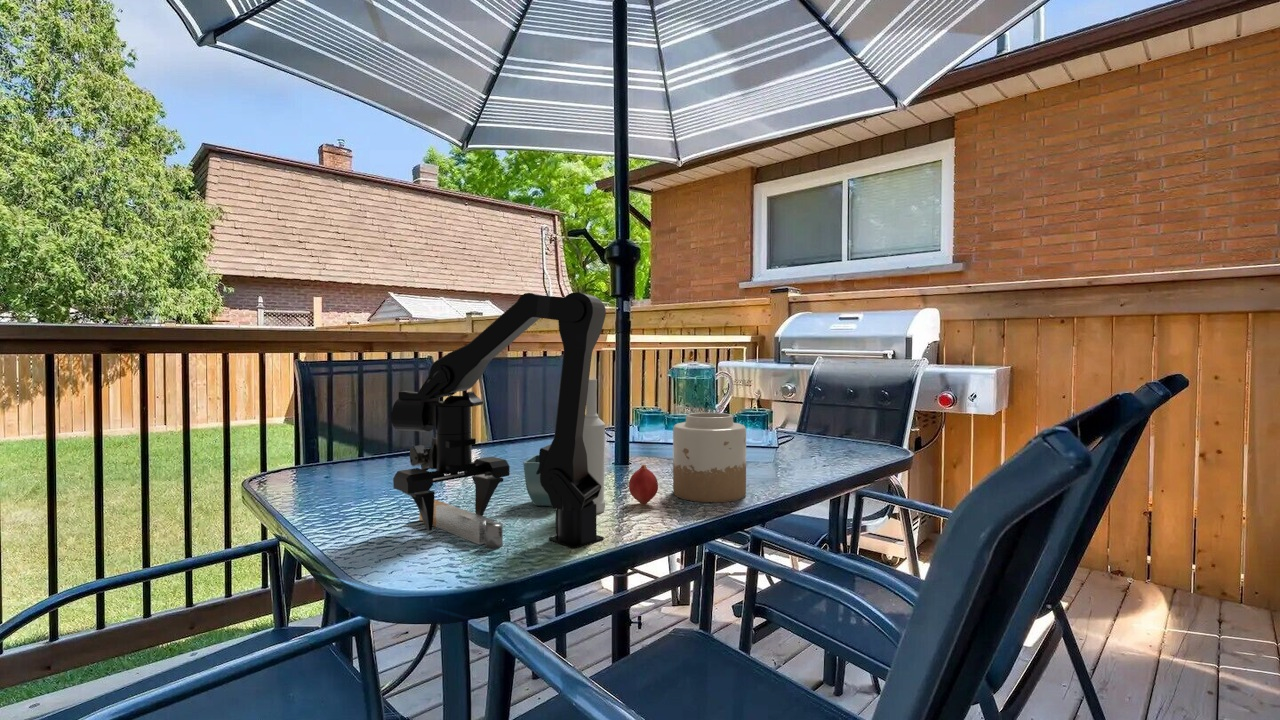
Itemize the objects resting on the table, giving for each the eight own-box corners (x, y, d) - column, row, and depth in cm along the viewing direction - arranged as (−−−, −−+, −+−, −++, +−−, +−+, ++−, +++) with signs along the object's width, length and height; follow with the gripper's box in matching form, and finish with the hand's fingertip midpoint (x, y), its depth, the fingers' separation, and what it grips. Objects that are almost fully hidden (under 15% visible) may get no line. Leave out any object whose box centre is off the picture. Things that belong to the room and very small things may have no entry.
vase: (708, 482, 142) (708, 409, 141) (761, 494, 130) (761, 415, 130) (658, 492, 132) (658, 414, 132) (710, 507, 120) (710, 421, 120)
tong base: (506, 547, 97) (506, 524, 96) (491, 551, 95) (491, 528, 95) (433, 518, 113) (432, 498, 113) (419, 521, 111) (419, 501, 111)
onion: (624, 502, 124) (624, 462, 124) (651, 499, 126) (651, 460, 126) (634, 509, 118) (634, 468, 118) (662, 506, 121) (662, 465, 120)
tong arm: (486, 543, 98) (486, 520, 98) (479, 544, 97) (479, 522, 97) (425, 518, 112) (425, 498, 112) (419, 519, 111) (419, 499, 111)
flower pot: (577, 498, 127) (576, 455, 127) (567, 510, 118) (567, 463, 118) (535, 497, 128) (534, 454, 128) (522, 508, 119) (522, 462, 119)
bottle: (594, 515, 114) (594, 380, 114) (572, 511, 117) (571, 379, 116) (610, 509, 119) (610, 378, 118) (589, 505, 121) (588, 378, 121)
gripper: (477, 423, 117) (477, 505, 117) (378, 433, 103) (379, 526, 104) (511, 428, 109) (511, 516, 109) (408, 440, 96) (410, 541, 96)
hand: (454, 524), depth 105 cm, fingers open, 9 cm apart
